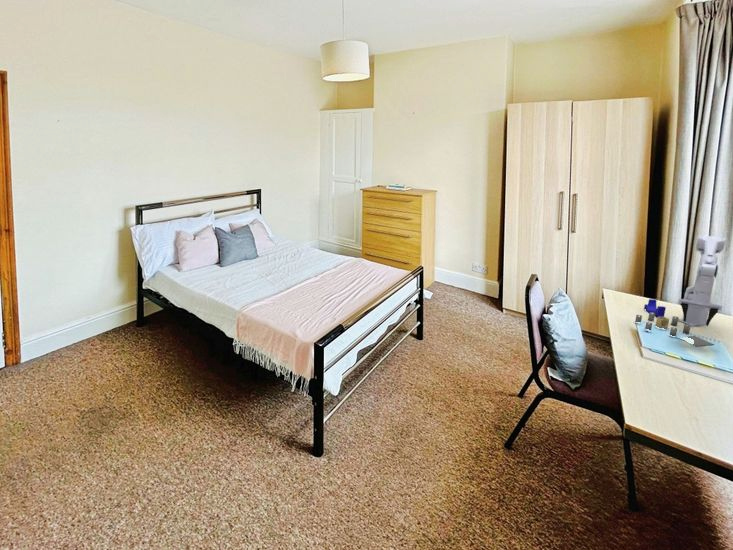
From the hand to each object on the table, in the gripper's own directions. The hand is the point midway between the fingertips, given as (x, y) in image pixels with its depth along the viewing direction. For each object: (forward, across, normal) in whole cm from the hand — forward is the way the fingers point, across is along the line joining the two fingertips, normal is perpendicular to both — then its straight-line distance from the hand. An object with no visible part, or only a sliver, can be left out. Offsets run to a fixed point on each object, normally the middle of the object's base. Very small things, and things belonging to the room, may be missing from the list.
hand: (695, 323), depth 181 cm
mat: (+9, +2, +8) cm, 13 cm away
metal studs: (+8, -11, +17) cm, 22 cm away
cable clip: (+5, -16, +36) cm, 40 cm away
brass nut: (+8, -11, +17) cm, 22 cm away
